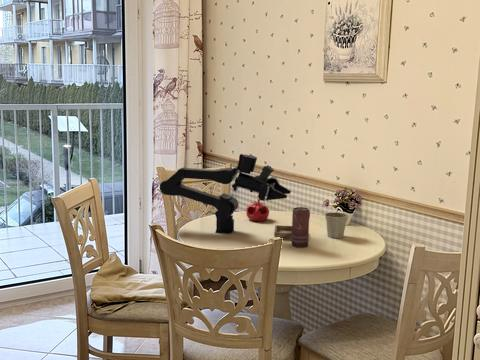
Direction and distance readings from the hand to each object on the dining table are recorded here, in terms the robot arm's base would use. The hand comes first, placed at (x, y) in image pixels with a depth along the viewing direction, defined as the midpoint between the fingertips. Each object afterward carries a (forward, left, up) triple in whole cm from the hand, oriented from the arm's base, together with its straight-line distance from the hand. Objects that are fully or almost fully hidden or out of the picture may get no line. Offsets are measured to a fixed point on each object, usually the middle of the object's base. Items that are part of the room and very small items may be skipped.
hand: (288, 194), depth 218 cm
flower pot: (+19, +3, -17) cm, 25 cm away
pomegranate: (-13, +25, -17) cm, 33 cm away
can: (+5, -12, -17) cm, 21 cm away
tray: (+1, +1, -17) cm, 17 cm away
